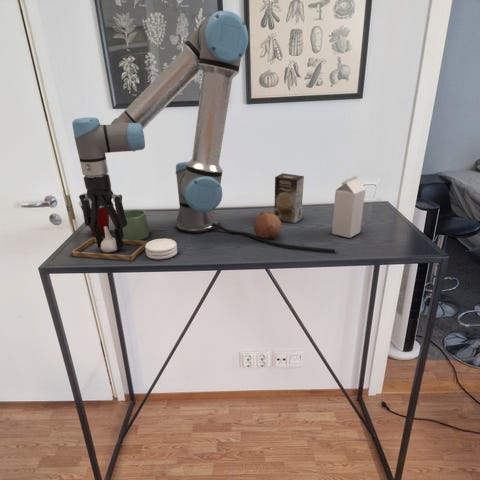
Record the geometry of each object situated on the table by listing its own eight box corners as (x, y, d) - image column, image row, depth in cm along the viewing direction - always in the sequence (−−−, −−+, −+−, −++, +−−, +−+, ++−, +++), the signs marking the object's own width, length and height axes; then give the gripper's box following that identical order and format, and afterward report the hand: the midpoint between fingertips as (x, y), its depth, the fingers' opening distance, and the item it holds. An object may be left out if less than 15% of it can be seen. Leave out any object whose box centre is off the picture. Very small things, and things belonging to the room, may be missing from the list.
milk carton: (360, 232, 146) (367, 176, 136) (349, 238, 142) (356, 181, 132) (342, 228, 151) (347, 173, 141) (331, 234, 146) (336, 177, 136)
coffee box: (273, 219, 161) (273, 176, 152) (280, 215, 165) (281, 172, 157) (294, 223, 156) (296, 179, 148) (302, 218, 161) (304, 175, 153)
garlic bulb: (114, 254, 136) (109, 231, 132) (97, 253, 138) (92, 229, 133) (124, 247, 141) (120, 224, 137) (108, 246, 143) (103, 223, 139)
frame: (149, 244, 143) (148, 241, 142) (131, 260, 132) (131, 256, 131) (93, 241, 147) (92, 237, 146) (71, 256, 136) (70, 252, 135)
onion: (258, 244, 148) (249, 216, 146) (284, 235, 147) (275, 207, 146) (258, 244, 139) (249, 214, 137) (286, 235, 138) (277, 205, 136)
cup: (153, 231, 153) (150, 210, 149) (142, 241, 145) (138, 218, 141) (129, 230, 155) (125, 209, 151) (116, 239, 148) (112, 217, 143)
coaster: (179, 257, 133) (178, 247, 131) (148, 262, 130) (146, 251, 128) (174, 246, 141) (173, 236, 139) (144, 250, 138) (143, 240, 137)
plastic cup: (108, 240, 147) (101, 206, 141) (80, 238, 149) (72, 205, 143) (121, 229, 156) (115, 197, 150) (95, 228, 158) (88, 196, 152)
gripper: (60, 176, 126) (78, 249, 138) (119, 178, 121) (132, 253, 134) (74, 171, 132) (90, 241, 144) (131, 172, 128) (142, 244, 140)
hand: (110, 246), depth 139 cm, fingers closed on garlic bulb, 6 cm apart
